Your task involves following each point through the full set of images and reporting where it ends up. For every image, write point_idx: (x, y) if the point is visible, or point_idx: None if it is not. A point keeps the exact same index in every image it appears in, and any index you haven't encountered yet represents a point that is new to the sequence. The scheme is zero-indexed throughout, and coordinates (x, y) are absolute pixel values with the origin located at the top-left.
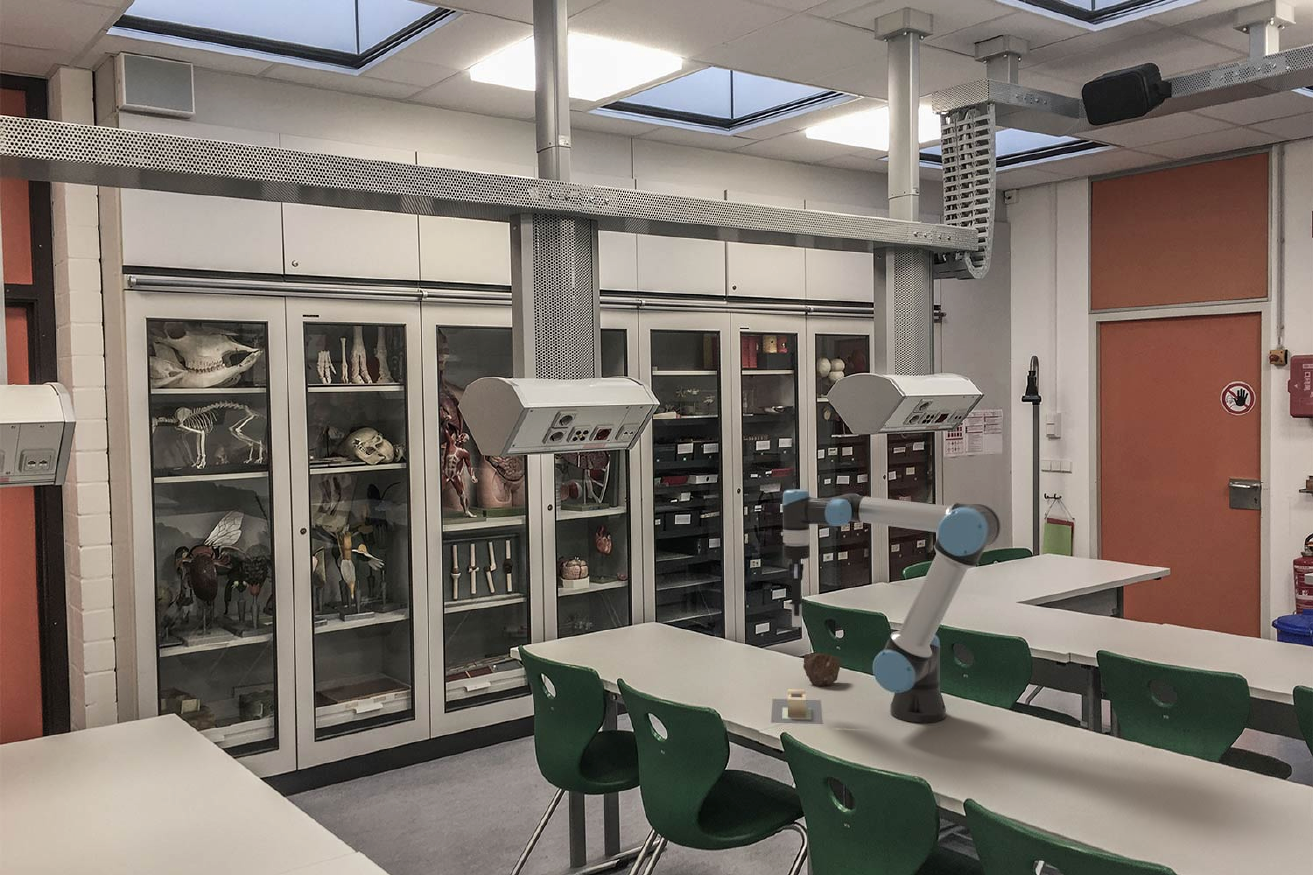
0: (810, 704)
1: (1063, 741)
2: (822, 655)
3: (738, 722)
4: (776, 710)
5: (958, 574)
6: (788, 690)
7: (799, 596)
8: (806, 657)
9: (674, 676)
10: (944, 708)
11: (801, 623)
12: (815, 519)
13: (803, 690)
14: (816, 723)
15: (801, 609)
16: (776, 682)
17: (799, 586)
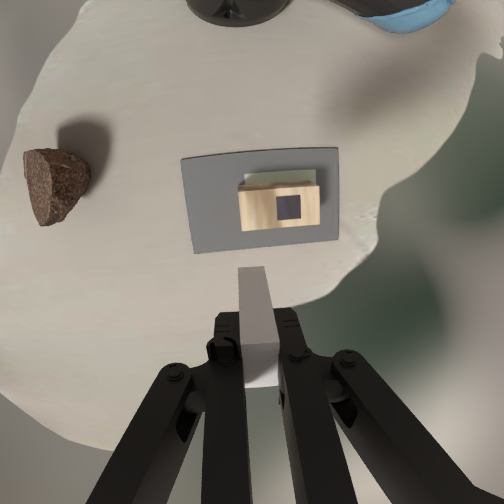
0: (215, 177)
1: None
2: (53, 183)
3: (333, 288)
4: (268, 238)
5: None
6: (251, 228)
7: (386, 389)
8: (54, 220)
9: (128, 387)
10: None
11: (264, 274)
12: None
13: (245, 195)
14: (336, 159)
15: (267, 318)
16: (88, 259)
17: (436, 448)
